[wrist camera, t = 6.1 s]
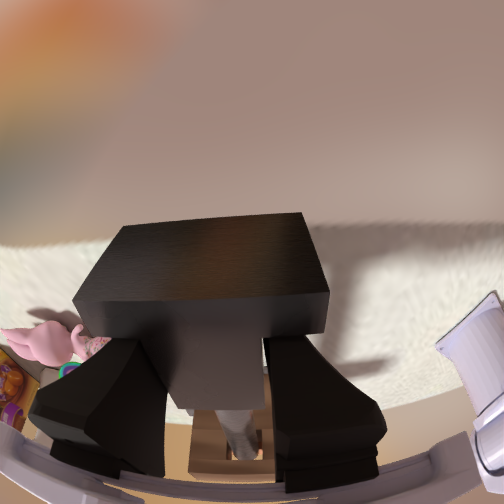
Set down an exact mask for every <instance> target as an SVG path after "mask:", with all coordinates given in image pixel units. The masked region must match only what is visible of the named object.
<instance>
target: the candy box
mask: <svg viewBox="0 0 504 504" xmlns="http://www.w3.org/2000/svg"><path fill="white" fill-rule="evenodd" d="M39 386H40V383H39V382H38V381H36V380H35V379H34V378H33V377H32V376H30V375H29V374H28V373H27V372H25V371H24V370H23V369H22V368H21V367H20V366H19V365H17V364H16V363H15V362H14V361H13V360H12V359H11V358H10V357H9V356H8V355H7V354H5V353H4V352H3V351H2V350H1V349H0V421H2V422H4V423H5V424H7V425H9V426H11V427H13V428H15V429H16V430H18V431H19V432H20V433H21V431H22V429H23V426H24V423H25V420H26V418H27V414H28V412H29V409H30V407H31V404H32V402H33V399H34V397H35V395H36V392H37V390H38V388H39Z"/></svg>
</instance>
